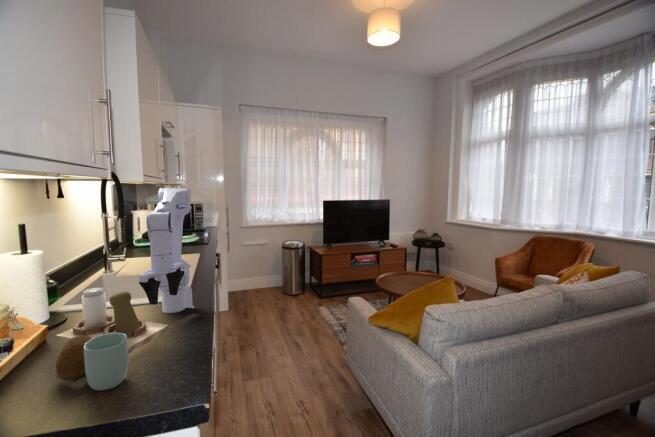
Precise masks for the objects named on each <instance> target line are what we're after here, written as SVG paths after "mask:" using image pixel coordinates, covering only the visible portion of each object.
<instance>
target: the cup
mask: <svg viewBox="0 0 655 437" xmlns="http://www.w3.org/2000/svg"><path fill="white" fill-rule="evenodd" d="M128 350H129V348H128V338H127V335H126V334H124V333H110V334H105V335H101V336H97V337H95V338H93V339H91V340H89V341H88V342H86V344H85V345H84V349H83V353H84V367H85V379H86V382H87V384H88V386H89V387H90V388H91V389H92V390H94V391H100V392H101V391H107V390H111V389H114V388H115V387H117V386H119V385H121V383H122V382H123V381H124V380H125V378H126V376H127V373H128V370H129V360H130V359H129V358H130V357H129V355H130V353H128Z"/></svg>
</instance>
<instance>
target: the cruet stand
mask: <svg viewBox="0 0 655 437" xmlns="http://www.w3.org/2000/svg"><path fill="white" fill-rule="evenodd" d="M137 319H138V318H137ZM138 321H139V323H140V325H141V326H140V327H139V328H137V329H135V330H133V331H130V332H125V333H124V334H126V335H127V338H128V353H129V354H131V353H132V352H135V351H136V350H138V349H139V348H142V347H143V346H145V345H146V344H148V343H149V342H151V341H152V340H154V339H156V338H157V337H159V336H161V335H163V334H164V333H166V332H168V331H169V330H170V326H169V324H163V323H159V322H158V323H157V322H150V321H146V319H145V320H144V319H138ZM110 333H116V328H115V318H114V315H113V314H111V315H110V314H107V324H105V325H102V326H99V327H93V328H88V329H85V328H84V325H83V319H82V320H79V321H76V323H74V324H73V326H72V328H70V329H68V330H65V331H63V332H61V333H59V334H56V335H55V336H56V337H57V336H58V337H63V338H68V339H72V338H74V337H78V336H90V337H92V338H95V337H97V336H101V335H105V334H110Z"/></svg>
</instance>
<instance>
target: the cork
mask: <svg viewBox="0 0 655 437" xmlns="http://www.w3.org/2000/svg"><path fill="white" fill-rule="evenodd" d="M108 300H109V304H110V306H112V307H113V316H114V318H115V328H116V333H125V332H130V331H133V330H135V329H137V328H139V327H140V326H141V325H140V323H139V321H138V316H137V314H136V312H135V310H134V308H133V304H132V303H131V300H132V295H131V292H129V291H120V292H116V293H114V294H112V295H111V296H110V297H109V299H108Z"/></svg>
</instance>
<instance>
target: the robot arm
mask: <svg viewBox="0 0 655 437" xmlns="http://www.w3.org/2000/svg"><path fill="white" fill-rule="evenodd" d="M157 196H158V203H157V205H156V206H155V208H154V210H153V212H150V213H149V214H147V216H146V220H145V221H146V222H145V223H146V230H147V236H148V239H149V245H150V247H149V248H150V264H151V265H150V266H151V269H148V270H146V271H145V272H143V273H141V274H139V275H138V284H139V286H141V288H142V290H143V291H144V292H145V295H146V297H147V300H148V303H149V305H154V306H155V305H158V304H159V303H158V302H159V292H160V291H161V305H162V306H161V307H162V312H163V313H165V314H174V313H179V312H181V311H183V310H185V309H195V306H194V305H193V289H192V287H191V286H190V285H189V284H190V279H191V276H190V265H189V263H188V262H187V261H186V260H184V259H182V247H183V228H184V227H183V225H184V219H185V216H186V215H188V214H189V213H190V210H191V202H192V199H191V198H192V196H191V190H190V188H188V187H187V188H171V187H170V188H167V187H166V188H165V187H160V188H159V190H158V195H157ZM159 290H160V291H159Z"/></svg>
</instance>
